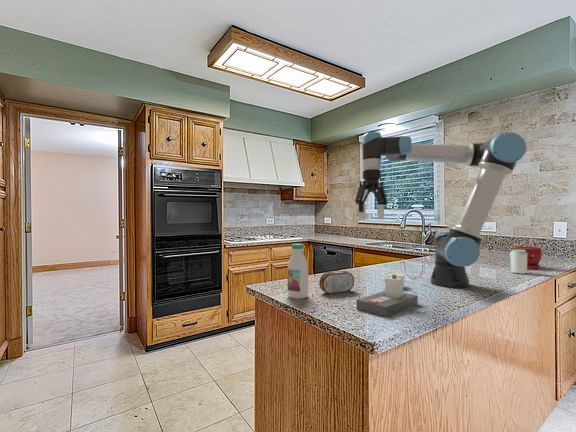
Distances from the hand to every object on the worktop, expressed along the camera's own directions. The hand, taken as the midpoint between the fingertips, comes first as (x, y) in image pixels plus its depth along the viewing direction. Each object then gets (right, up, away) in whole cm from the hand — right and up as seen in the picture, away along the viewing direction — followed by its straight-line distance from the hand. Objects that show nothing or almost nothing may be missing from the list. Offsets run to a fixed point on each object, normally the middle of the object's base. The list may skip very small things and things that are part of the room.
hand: (371, 219), depth 134 cm
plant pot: (+100, -28, +44) cm, 113 cm away
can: (+84, -28, +29) cm, 93 cm away
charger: (+1, -29, -25) cm, 38 cm away
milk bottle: (-32, -29, -15) cm, 46 cm away
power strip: (-2, -29, -28) cm, 40 cm away
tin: (-16, -29, -9) cm, 34 cm away
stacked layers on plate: (+10, -29, 0) cm, 31 cm away
